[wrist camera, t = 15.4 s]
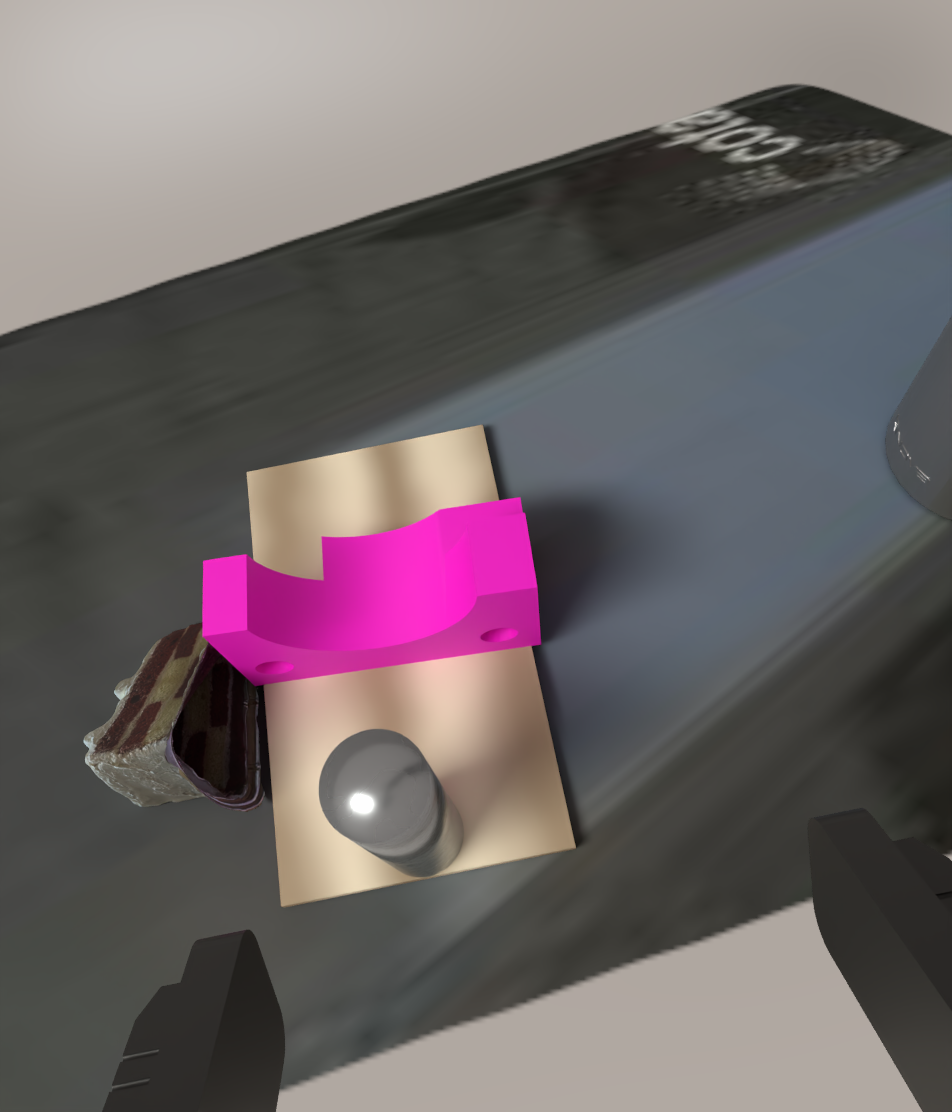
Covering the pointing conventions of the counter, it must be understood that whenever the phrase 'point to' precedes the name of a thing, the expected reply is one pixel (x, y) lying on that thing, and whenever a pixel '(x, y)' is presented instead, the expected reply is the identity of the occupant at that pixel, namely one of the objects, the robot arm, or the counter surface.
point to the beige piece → (398, 701)
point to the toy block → (381, 598)
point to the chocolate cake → (182, 729)
